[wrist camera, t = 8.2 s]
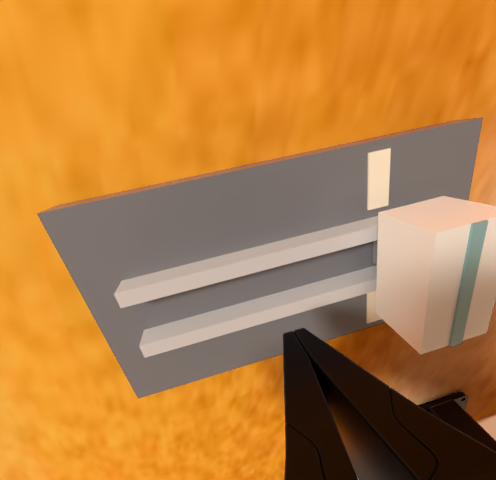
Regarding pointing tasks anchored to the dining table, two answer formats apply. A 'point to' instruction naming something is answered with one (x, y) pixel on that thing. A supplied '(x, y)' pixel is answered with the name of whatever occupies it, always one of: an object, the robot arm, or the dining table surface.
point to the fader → (436, 271)
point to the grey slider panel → (249, 251)
